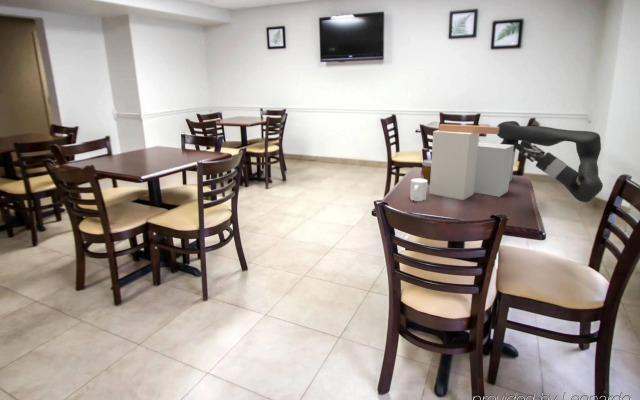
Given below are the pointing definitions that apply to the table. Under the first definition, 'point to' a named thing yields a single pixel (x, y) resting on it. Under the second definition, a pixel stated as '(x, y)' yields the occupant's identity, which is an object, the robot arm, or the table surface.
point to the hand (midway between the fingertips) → (518, 143)
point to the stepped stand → (468, 165)
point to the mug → (418, 189)
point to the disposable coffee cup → (427, 170)
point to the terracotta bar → (469, 129)
